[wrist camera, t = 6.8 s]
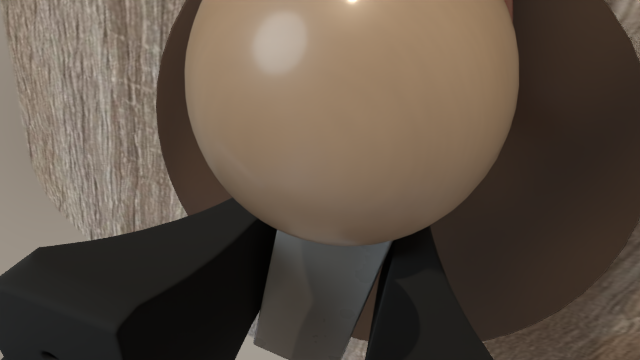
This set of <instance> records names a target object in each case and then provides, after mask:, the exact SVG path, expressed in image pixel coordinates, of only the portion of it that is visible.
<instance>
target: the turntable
mask: <svg viewBox="0 0 640 360" xmlns="http://www.w3.org/2000/svg"><path fill="white" fill-rule="evenodd" d="M156 112H157V125H158V134H159V139H160V145H161V150H162V155H163V158H164V162H165V165H166V168H167V171H168V174H169V177H170V180H171V182H172V185H173V187H174V189H175V191H176V194H177V196H178V198H179V200H180V202H181V204H182V206H183V208H184V209H185V211H186V213H187V215H188V216H190V215H193V214H195V213H198V212H201V211H203V210H206V209H208V208H211V207H213V206H215V205H218V204H220V203H222V202H224V201H226V200H228V199H230V198H232V197H233V198H234V199H235V200H236V201H237V202H238V203H239V204H240V205H242V206H243V207H244V208H245V209H246V210H247V211H249V212H250V213H251V214H253V215H254V216H255V217H257V218H258V219H260V220H261V221H263V222H264V223H266V224H268V225H270V226H271V227H273V228H275V229H277V233H276V238H275V242H274V247H273V252H272V257H271V261H270V266H269V271H268V276H267V280H266V285H265V290H264V295H263V300H262V304H261V309H260V314H259V319H258V323H257V328H256V333H255V338H254V344H255V345H256V346H258V347H261V348H263V349H265V350H268V351H270V352H272V353H274V354H277V355H279V356H281V357H283V358H286V359H288V360H341V359H342V357H343V354H344V352H345V350H346V347H347V345H348V343H349V340H350V338H351V337H353V338H357V339H360V340H365V341H369V335H370V329H371V323H372V317H373V311H374V305H375V299H376V293H377V287H378V281H379V276H380V273H381V269H382V265H383V263H384V260H385V258H386V256H387V253H388V251H389V249H390V246H391V244H392V242H393V240H396V239H399V238H402V237H405V236H408V235H411V234H413V233H415V232H417V231H420V230H422V229H424V228H426V227H428V226H429V225H430V227H431V232H432V235H433V239H434V242H435V245H436V248H437V252H438V255H439V258H440V260H441V263H442V266H443V268H444V271H445V273H446V276H447V278H448V281H449V283H450V285H451V287H452V289H453V292H454V294H455V296H456V298H457V300H458V302H459V304H460V306H461V308H462V309H463V311H464V313H465V315H466V317H467V318H468V320H469V322H470V324H471V325H472V327H473V329H474V330H475V332H476V333H477V335H478V337H479V338H480V340H481V341H486V340H490V339H494V338H497V337H501V336H504V335H508V334H511V333H514V332H516V331H518V330H521V329H523V328H526V327H528V326H531V325H533V324H536V323H538V322H539V321H541V320H543V319H545V318H547V317H548V316H550V315H552V314H554V313H556V312H558V311H559V310H561V309H562V308H564V307H565V306H566V305H568V304H569V303H571V302H572V301H573V300H575V299H576V298H577V297H579V296H580V295H582V294H583V293H584V292H585V291H586V290H587V289H588V288H589V287H590V286H591V285H592V284H593V283H594V282H596V281H597V280H598V279H599V278H600V277H601V276H602V275H603V274H604V273H605V272H606V270H607V269H608V268H609V266H610V265H611V264H612V263H613V261H614V260H615V259H616V257H617V256H618V255H619V253H620V252H621V251H622V250H623V248H624V246H625V245H626V243H627V241H628V239H629V237H630V235H631V234H632V232H633V230H634V228H635V226H636V224H637V222H638V221H639V218H640V62H639V59H638V57H637V54H636V52H635V49H634V47H633V44H632V42H631V40H630V38H629V37H628V35H627V34H626V32H625V31H624V29H623V27H622V26H621V24H620V23H619V21H618V20H617V18H616V16H615V15H614V13H613V12H612V10H611V9H610V7H609V5H608V4H607V3H606V2H605V1H604V0H186V1H185V3H184V5H183V7H182V9H181V11H180V13H179V15H178V17H177V18H176V20H175V22H174V24H173V26H172V28H171V31H170V34H169V37H168V40H167V43H166V46H165V49H164V52H163V55H162V60H161V65H160V70H159V76H158V81H157V100H156Z"/></svg>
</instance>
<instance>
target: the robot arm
mask: <svg viewBox="0 0 640 360" xmlns="http://www.w3.org/2000/svg"><path fill="white" fill-rule="evenodd" d="M276 233H277V229H275V228H273V227H271V226H270V225H268V224H266V223H264V222H263V221H261V220H260V219H258V218H257V217H255V216H254V215H253V214H251V213H250V212H249V211H247V210H246V209H245V208H244V207H243V206H242V205H240V204H239V203H238V202H237V201H236V200H235V199H234V198H233V197H232V198H230V199H228V200H226V201H224V202H222V203H220V204H218V205H215V206H213V207H211V208H208V209H206V210H203V211H201V212H198V213H195V214H193V215H190V216H187V217H184V218H182V219H179V220H176V221H172V222H169V223H165V224H162V225H158V226H155V227H151V228H148V229H144V230H140V231H136V232H132V233H127V234H123V235H118V236H113V237H108V238H103V239H97V240H91V241H85V242H77V243H70V244H62V245H55V246H47V247H39V248H37V249H36V250H35V251H33V252H32V253H31V254H29V255H28V256H27V257H25V258H24V259H22V260H21V261H20V262H18V263H17V264H16V265H14V266H13V267H12V268H10V269H9V270H8V271H6V272H5V273H4V274H2V275H1V276H0V350H1V352H2V354H3V356H4V357H3V358H2V359H1V360H235V358H236V356H237V354H238V352H239V350H240V348H241V345H242V344H243V342H244V339H245V337H246V335H247V333H248V331H249V329H250V327H251V325H252V323H253V322H254V320H255V318H256V316H257V314H258V313H259V311H260V309H261V304H262V300H263V295H264V290H265V285H266V280H267V276H268V271H269V266H270V261H271V257H272V252H273V247H274V242H275V238H276ZM365 360H494V359H493V358H492V356H491V355H490V353H489V352H488V350H487V349H486V347H485V346H484V344H483V343H482V341H481V340H480V338H479V337H478V335H477V333H476V332H475V330H474V329H473V327H472V325H471V324H470V322H469V320H468V318H467V317H466V315H465V313H464V311H463V309H462V308H461V306H460V304H459V302H458V300H457V298H456V296H455V294H454V292H453V289H452V287H451V285H450V283H449V281H448V278H447V276H446V273H445V271H444V268H443V266H442V263H441V260H440V258H439V255H438V252H437V248H436V245H435V242H434V239H433V235H432V232H431V227H430V225H429V226H428V227H426V228H424V229H422V230H420V231H417V232H415V233H413V234H411V235H408V236H405V237H402V238H399V239H396V240H393V242H392V244H391V246H390V249H389V251H388V253H387V256H386V258H385V260H384V263H383V265H382V269H381V273H380V276H379V281H378V287H377V293H376V299H375V305H374V311H373V317H372V323H371V329H370V335H369V341H368V347H367V352H366V357H365Z"/></svg>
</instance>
